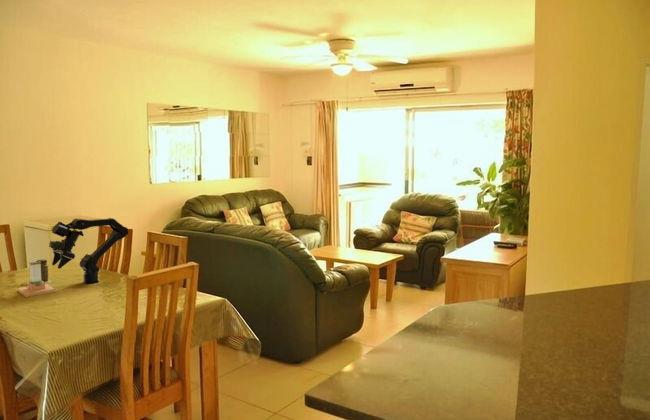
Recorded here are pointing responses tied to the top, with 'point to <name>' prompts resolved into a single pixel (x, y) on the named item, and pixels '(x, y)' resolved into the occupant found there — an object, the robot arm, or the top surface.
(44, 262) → the condiment
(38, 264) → the column
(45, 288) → the stand
